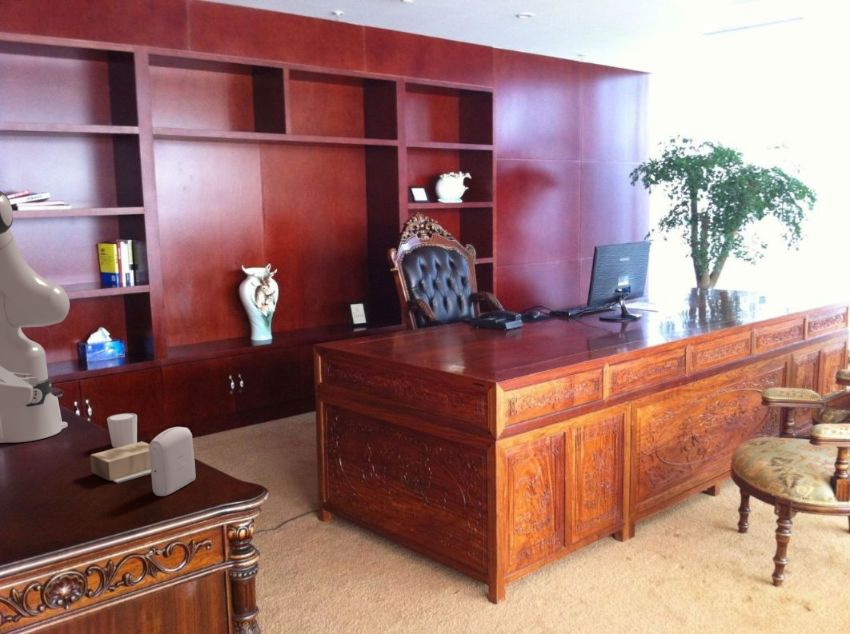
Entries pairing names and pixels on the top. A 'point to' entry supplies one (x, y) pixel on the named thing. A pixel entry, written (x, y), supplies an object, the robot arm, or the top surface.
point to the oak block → (121, 461)
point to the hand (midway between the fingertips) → (34, 379)
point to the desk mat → (132, 476)
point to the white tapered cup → (123, 429)
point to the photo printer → (172, 460)
